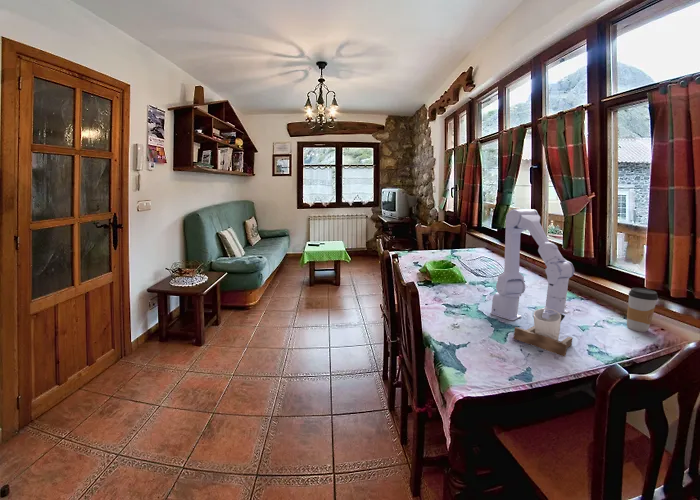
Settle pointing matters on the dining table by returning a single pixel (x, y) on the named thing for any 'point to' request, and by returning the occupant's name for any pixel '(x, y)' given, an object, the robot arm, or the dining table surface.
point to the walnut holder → (542, 341)
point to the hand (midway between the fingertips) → (551, 333)
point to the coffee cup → (640, 308)
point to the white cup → (547, 324)
